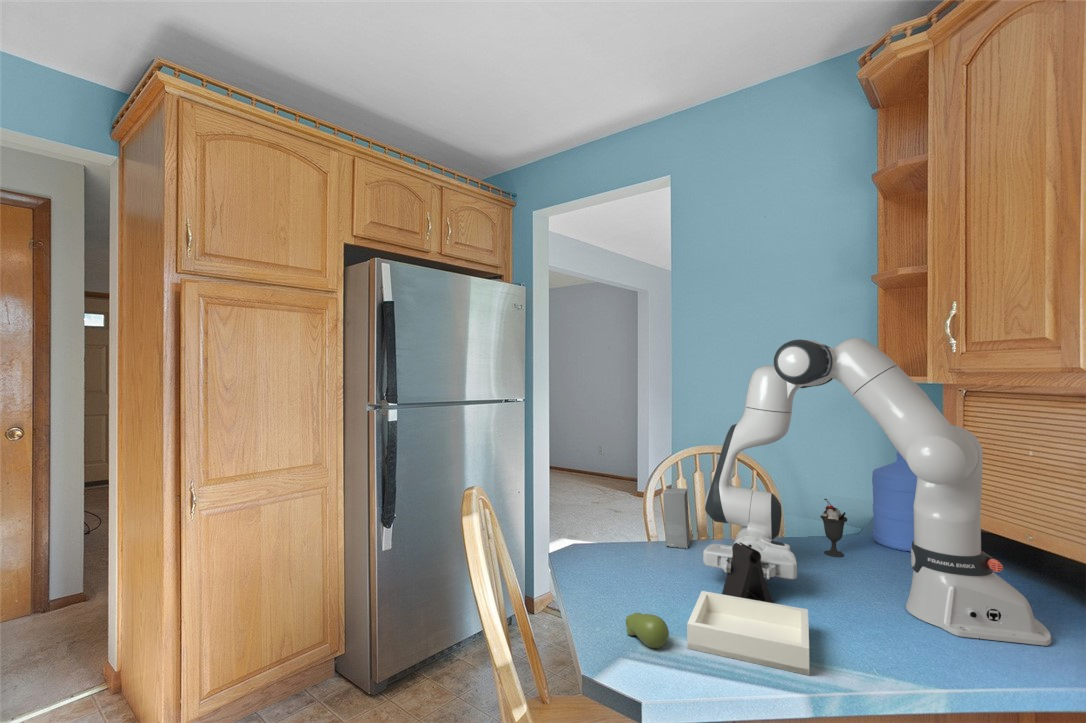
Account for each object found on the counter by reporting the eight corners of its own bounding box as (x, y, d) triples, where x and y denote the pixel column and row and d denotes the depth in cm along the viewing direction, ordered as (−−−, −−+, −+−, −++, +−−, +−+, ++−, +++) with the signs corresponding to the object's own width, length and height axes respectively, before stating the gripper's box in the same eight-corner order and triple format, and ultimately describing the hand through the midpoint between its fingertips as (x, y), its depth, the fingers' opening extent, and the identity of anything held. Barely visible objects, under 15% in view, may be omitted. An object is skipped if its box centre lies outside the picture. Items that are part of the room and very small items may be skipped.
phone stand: (737, 609, 112) (736, 552, 112) (721, 597, 118) (720, 543, 118) (773, 604, 115) (772, 548, 115) (755, 593, 120) (754, 540, 121)
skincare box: (687, 549, 149) (687, 493, 150) (662, 546, 152) (662, 491, 152) (690, 540, 157) (690, 487, 158) (666, 538, 160) (666, 485, 160)
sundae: (816, 549, 149) (815, 496, 150) (841, 550, 148) (840, 497, 149) (825, 557, 143) (824, 502, 143) (852, 558, 142) (851, 503, 142)
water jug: (950, 555, 144) (948, 453, 145) (887, 552, 147) (886, 451, 148) (920, 537, 160) (918, 445, 160) (863, 534, 163) (862, 444, 163)
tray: (808, 632, 102) (807, 609, 102) (809, 675, 88) (809, 648, 88) (701, 612, 111) (701, 590, 111) (687, 648, 96) (687, 623, 96)
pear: (648, 623, 95) (617, 610, 103) (652, 655, 94) (620, 639, 102) (673, 616, 97) (640, 604, 106) (676, 647, 96) (643, 632, 105)
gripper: (707, 534, 133) (697, 551, 120) (797, 545, 124) (796, 565, 111) (707, 559, 133) (697, 578, 120) (797, 572, 124) (797, 595, 111)
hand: (746, 572), depth 116 cm, fingers open, 6 cm apart
